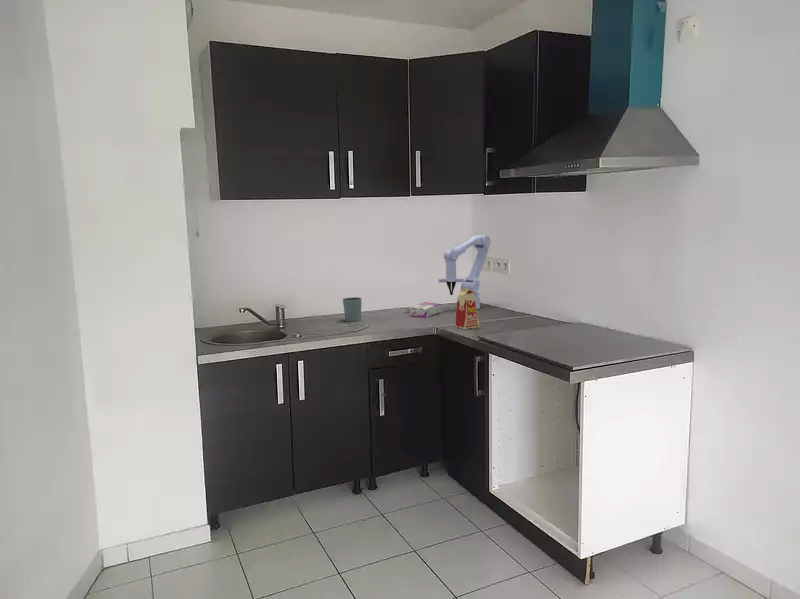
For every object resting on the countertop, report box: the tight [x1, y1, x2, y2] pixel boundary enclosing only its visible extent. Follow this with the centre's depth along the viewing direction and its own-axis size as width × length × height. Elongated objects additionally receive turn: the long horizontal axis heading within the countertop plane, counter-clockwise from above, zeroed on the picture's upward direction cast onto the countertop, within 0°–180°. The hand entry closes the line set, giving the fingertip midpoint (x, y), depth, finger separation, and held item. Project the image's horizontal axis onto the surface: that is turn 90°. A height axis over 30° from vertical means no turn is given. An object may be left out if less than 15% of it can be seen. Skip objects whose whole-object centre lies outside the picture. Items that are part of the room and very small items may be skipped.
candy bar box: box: [408, 301, 442, 318], centre depth 327 cm, size 11×5×16 cm
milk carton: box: [454, 288, 480, 330], centre depth 288 cm, size 9×9×20 cm
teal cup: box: [342, 296, 362, 323], centre depth 314 cm, size 10×10×12 cm
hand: (451, 294), depth 336 cm, fingers closed
